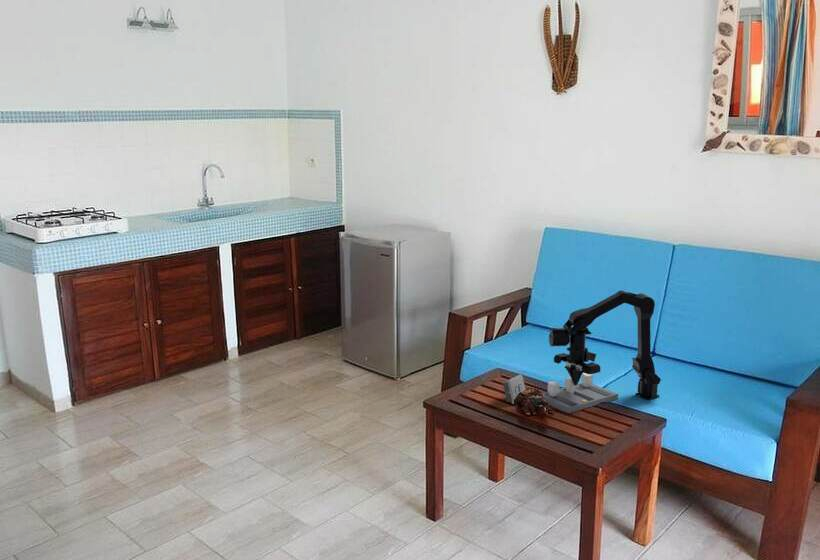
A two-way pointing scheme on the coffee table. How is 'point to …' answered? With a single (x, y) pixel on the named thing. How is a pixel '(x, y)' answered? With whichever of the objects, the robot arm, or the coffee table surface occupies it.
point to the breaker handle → (569, 385)
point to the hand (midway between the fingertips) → (575, 385)
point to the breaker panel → (577, 395)
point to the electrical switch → (513, 387)
